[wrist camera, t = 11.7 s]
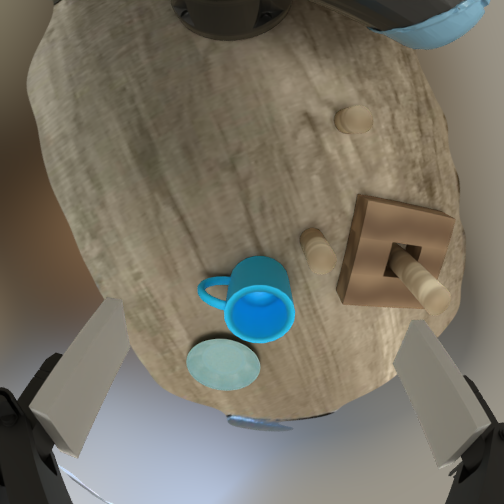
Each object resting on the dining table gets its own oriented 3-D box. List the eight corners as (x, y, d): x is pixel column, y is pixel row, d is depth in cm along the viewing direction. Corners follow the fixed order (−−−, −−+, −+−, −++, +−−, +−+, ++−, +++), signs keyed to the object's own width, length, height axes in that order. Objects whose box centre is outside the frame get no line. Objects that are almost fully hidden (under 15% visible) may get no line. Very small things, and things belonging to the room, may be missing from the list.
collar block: (357, 193, 36) (368, 200, 32) (440, 211, 37) (455, 219, 33) (335, 289, 41) (342, 304, 38) (415, 295, 42) (426, 308, 38)
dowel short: (335, 106, 32) (347, 102, 27) (359, 111, 32) (374, 109, 28) (332, 130, 33) (344, 130, 29) (356, 135, 33) (371, 136, 29)
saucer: (273, 348, 46) (274, 357, 44) (239, 390, 50) (239, 399, 48) (205, 318, 44) (203, 327, 42) (179, 365, 48) (176, 374, 46)
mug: (294, 260, 40) (302, 290, 32) (281, 311, 43) (286, 346, 35) (205, 246, 39) (194, 273, 32) (200, 298, 42) (189, 332, 35)
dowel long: (384, 240, 38) (433, 288, 25) (403, 243, 39) (455, 290, 26) (378, 261, 40) (422, 315, 27) (397, 263, 40) (444, 316, 27)
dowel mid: (302, 226, 38) (311, 246, 32) (325, 229, 38) (339, 249, 32) (297, 249, 39) (305, 272, 33) (321, 252, 39) (333, 275, 33)
